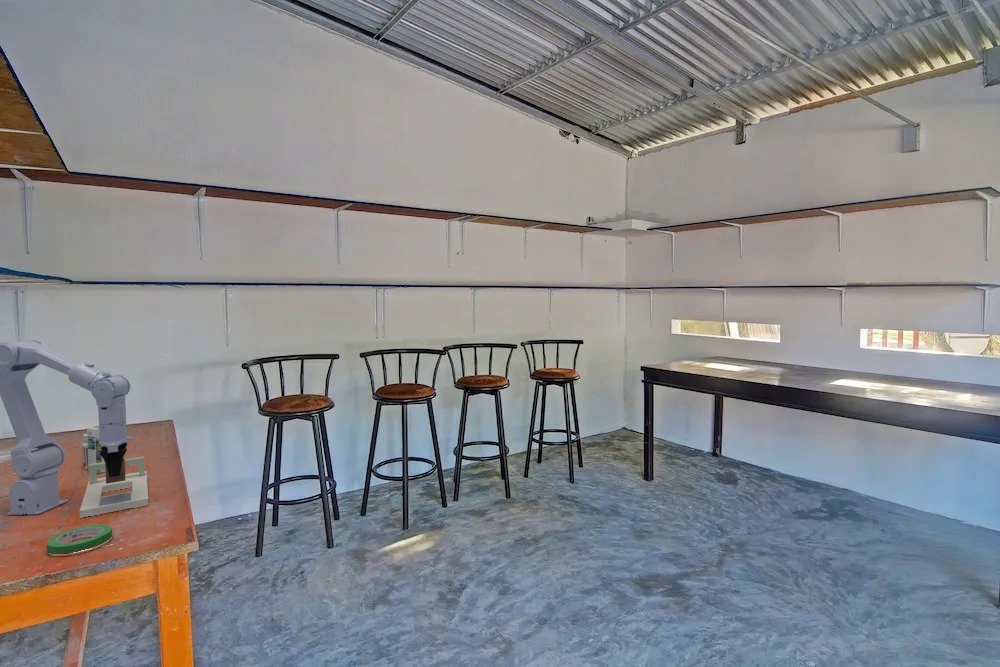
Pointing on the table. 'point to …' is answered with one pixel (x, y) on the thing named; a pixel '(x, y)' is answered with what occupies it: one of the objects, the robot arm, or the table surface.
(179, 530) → the table surface
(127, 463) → the sliding bridge
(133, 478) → the puzzle board
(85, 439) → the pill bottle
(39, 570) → the table surface
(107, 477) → the walnut block
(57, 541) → the tape roll
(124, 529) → the table surface
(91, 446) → the syrup box
